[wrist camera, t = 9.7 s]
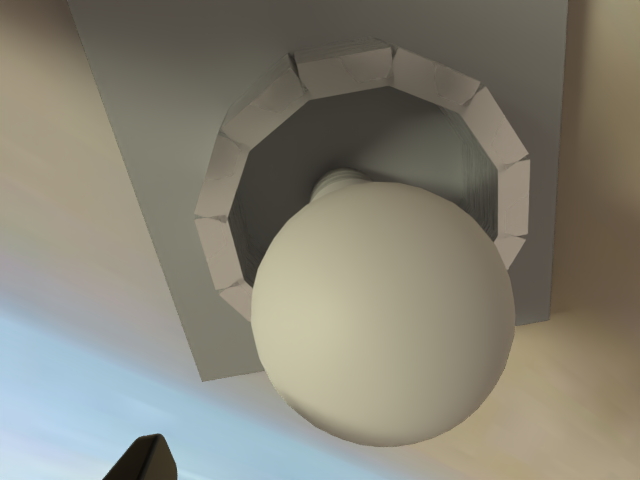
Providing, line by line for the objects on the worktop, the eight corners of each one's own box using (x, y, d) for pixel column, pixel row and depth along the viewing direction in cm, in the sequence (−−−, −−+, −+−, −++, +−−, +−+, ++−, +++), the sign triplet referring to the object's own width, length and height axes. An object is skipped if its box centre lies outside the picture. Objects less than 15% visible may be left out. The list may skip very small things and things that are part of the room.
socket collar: (177, 71, 17) (154, 90, 14) (486, 15, 17) (534, 21, 14) (247, 322, 22) (243, 379, 18) (489, 279, 21) (524, 329, 18)
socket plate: (81, -5, 17) (64, -5, 16) (550, -91, 17) (573, -98, 15) (206, 359, 24) (202, 381, 23) (534, 301, 24) (549, 320, 23)
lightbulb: (292, 86, 17) (313, 209, 7) (447, 144, 19) (637, 313, 9) (240, 237, 20) (204, 482, 10) (381, 279, 21) (473, 530, 11)
